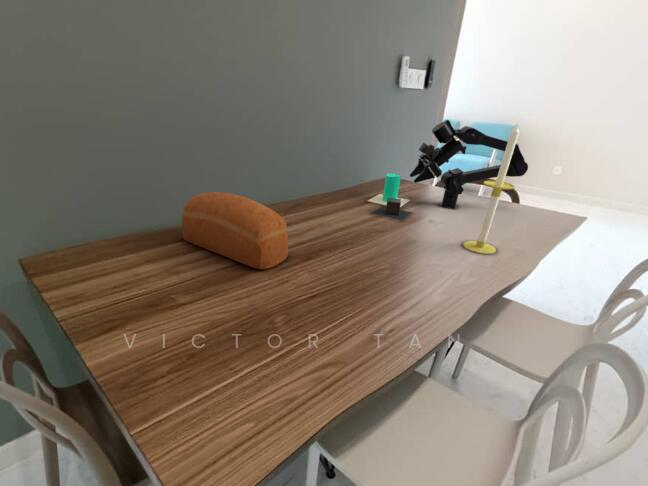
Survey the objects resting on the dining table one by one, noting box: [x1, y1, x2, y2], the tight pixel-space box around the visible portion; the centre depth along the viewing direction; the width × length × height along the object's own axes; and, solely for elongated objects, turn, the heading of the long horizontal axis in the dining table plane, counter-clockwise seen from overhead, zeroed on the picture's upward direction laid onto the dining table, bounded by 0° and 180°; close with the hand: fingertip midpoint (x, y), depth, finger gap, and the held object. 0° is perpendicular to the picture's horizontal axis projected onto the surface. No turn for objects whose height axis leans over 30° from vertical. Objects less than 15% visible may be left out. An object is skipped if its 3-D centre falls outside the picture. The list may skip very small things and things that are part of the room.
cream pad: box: [367, 193, 411, 208], centre depth 165 cm, size 14×14×1 cm
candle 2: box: [462, 120, 520, 255], centre depth 117 cm, size 10×10×38 cm
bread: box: [181, 191, 289, 270], centre depth 111 cm, size 14×33×16 cm, turn 54°
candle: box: [382, 171, 402, 202], centre depth 162 cm, size 6×6×12 cm
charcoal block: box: [385, 198, 401, 216], centre depth 150 cm, size 5×5×5 cm
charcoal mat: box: [371, 205, 413, 221], centre depth 151 cm, size 12×12×1 cm
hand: (412, 178), depth 160 cm, fingers open, 9 cm apart
